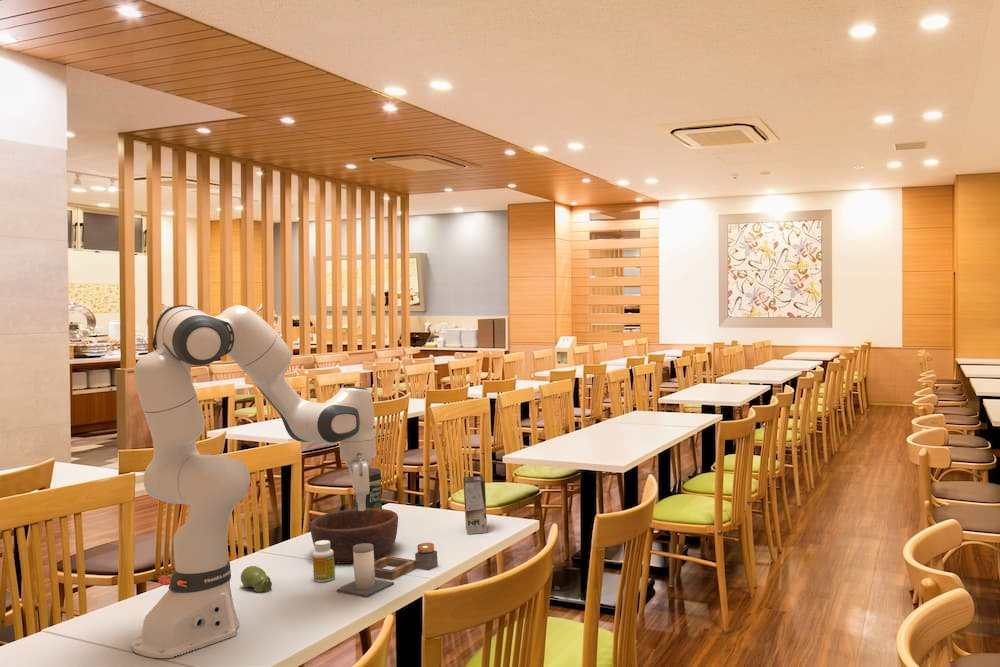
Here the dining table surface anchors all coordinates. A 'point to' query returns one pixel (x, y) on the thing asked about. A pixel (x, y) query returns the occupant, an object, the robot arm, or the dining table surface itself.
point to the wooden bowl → (356, 531)
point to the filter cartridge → (364, 566)
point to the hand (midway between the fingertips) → (360, 506)
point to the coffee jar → (372, 490)
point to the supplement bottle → (323, 562)
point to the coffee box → (475, 504)
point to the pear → (256, 579)
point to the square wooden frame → (404, 565)
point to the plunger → (425, 548)
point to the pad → (377, 588)
